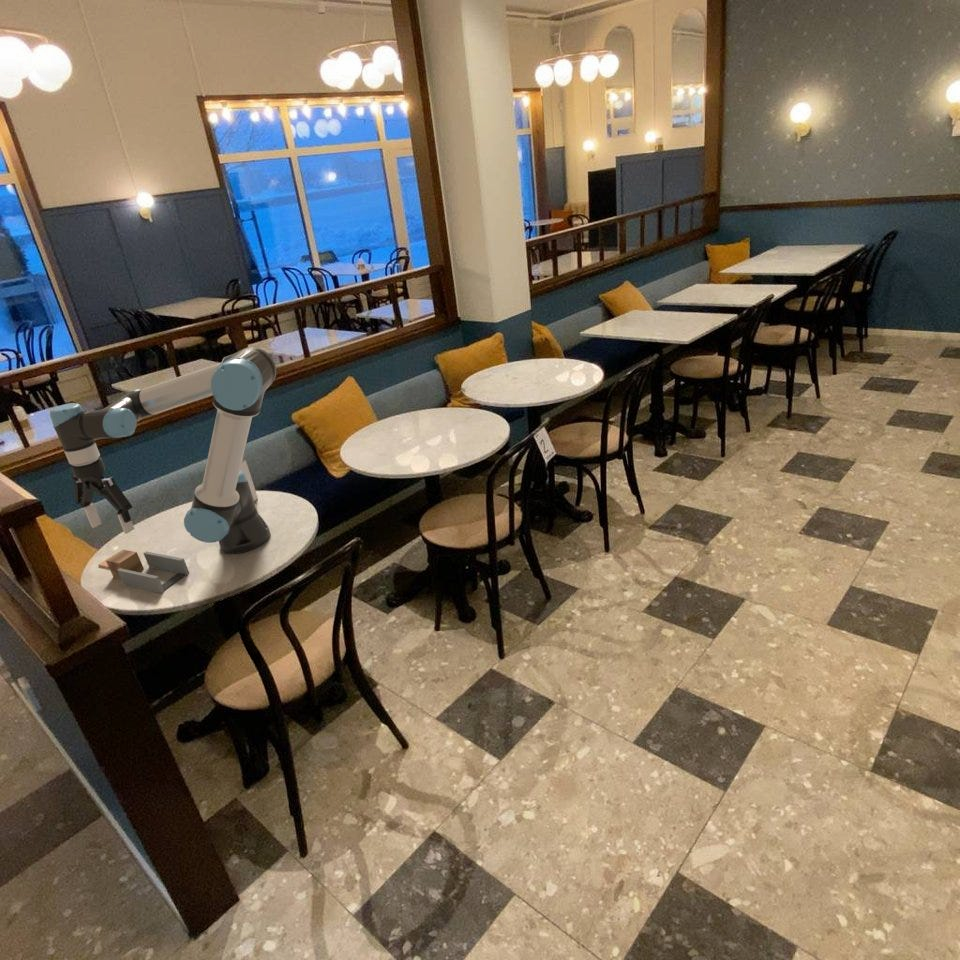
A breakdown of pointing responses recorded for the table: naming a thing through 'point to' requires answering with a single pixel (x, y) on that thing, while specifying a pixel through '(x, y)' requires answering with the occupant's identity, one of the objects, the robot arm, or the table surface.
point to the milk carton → (248, 478)
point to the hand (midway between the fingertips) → (113, 528)
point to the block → (124, 562)
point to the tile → (105, 563)
